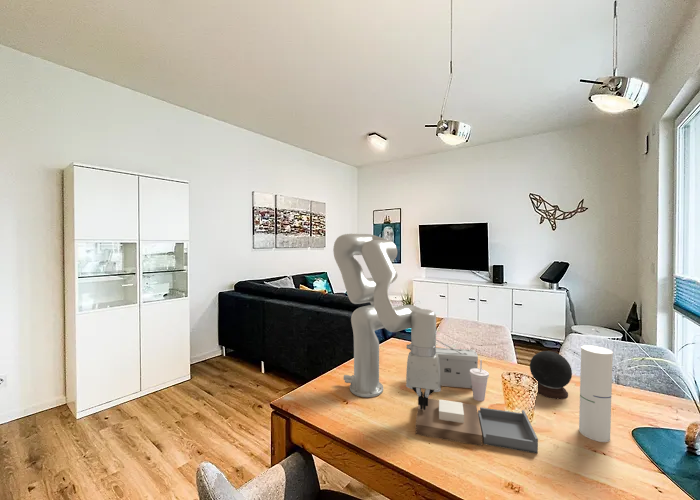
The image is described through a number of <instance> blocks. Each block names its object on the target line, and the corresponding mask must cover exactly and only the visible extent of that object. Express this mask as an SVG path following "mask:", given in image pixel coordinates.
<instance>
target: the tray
mask: <svg viewBox="0 0 700 500" xmlns="http://www.w3.org/2000/svg"><path fill="white" fill-rule="evenodd" d="M477 412H478V417H479V421H480V426H481V431H482V444H483V445H484V446H490V447H491V446H492V447H498V448H503V449H509V450H515V451H520V452H526V453H531V454H536V455H537V454H538V453H539V451H538V450H539V449H538V448H539V438H538V436H537V434H536V432H535V430H534V428H533V426H532V424H531V422H530V421H531V420H530V419H529V418H528V416H527V414H526V411H525V410H524V409H522V410H521V412H516V411H508V410H501V409H495V408H487V407H479V409H477Z"/></svg>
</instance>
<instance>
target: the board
mask: <svg viewBox="0 0 700 500" xmlns="http://www.w3.org/2000/svg"><path fill="white" fill-rule="evenodd" d="M462 403H463V402H462ZM463 411H464V423H459V422H453V421H447V420H441V419H439V399H435V398H429V397H428V406H426V409H425V410H424V409H420V405H418V404H417V412H416V417H415V418H416V420H415V435H417V436H424V437H428V438H429V437H430V438H434V439H435V438H436V439H439V440H440V439H441V440H445V441H450V442H452V441H453V442H457V443H461V444H462V443H464V444H468V445H475V446H479V447H480V446H481V447H483V438H482V431H481V426H480V421H479V417H478V409H477V405H476V404H472V403H470V404H469V403H463Z"/></svg>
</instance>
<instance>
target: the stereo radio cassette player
mask: <svg viewBox="0 0 700 500" xmlns="http://www.w3.org/2000/svg"><path fill="white" fill-rule="evenodd" d="M436 342H438V343H440V344H441V345H444V346H445V347H436V354H438V358H439V364H440V386H441V387H451V388H463V389H465V388H466V389H472V382H471V375H470V370H471V369H473V368H478V367H479V366H478V364H479V363H478V362H479V361H478V360H479V356H478V353H477V351H476V350H475V349H468V348H467V349H464V348H453V347H451V346H450V345H447V344H446V343H444V342H442V341H440V340H438V339H436ZM478 369H479V368H478Z"/></svg>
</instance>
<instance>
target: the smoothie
mask: <svg viewBox="0 0 700 500" xmlns="http://www.w3.org/2000/svg"><path fill="white" fill-rule="evenodd" d="M479 362H480V363H479V368H473V369H471V370H470V375H471V382H472V388H471V389H472V398H473V399H474V400H475V401H478V402H484V401H485V398H486V393H487V385H488V379H489V377H490V374H489V372H488V371H487V370H485V369H484V368H483V366H482V365H483V360H482V359H479Z"/></svg>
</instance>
